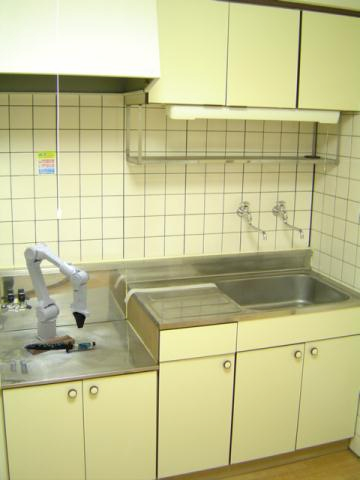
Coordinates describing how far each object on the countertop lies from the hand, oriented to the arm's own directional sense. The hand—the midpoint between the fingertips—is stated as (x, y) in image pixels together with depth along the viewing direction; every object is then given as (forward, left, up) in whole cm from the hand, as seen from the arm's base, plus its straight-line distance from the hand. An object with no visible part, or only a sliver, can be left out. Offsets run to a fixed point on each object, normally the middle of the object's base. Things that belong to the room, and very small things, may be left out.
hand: (80, 327), depth 239 cm
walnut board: (-8, -10, -9) cm, 16 cm away
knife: (0, -10, -9) cm, 13 cm away
